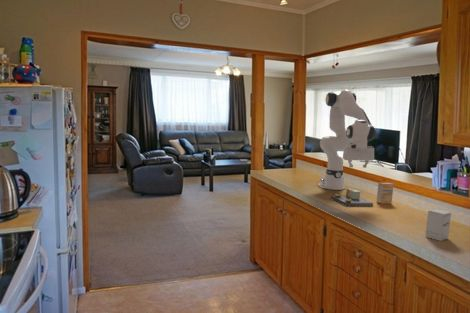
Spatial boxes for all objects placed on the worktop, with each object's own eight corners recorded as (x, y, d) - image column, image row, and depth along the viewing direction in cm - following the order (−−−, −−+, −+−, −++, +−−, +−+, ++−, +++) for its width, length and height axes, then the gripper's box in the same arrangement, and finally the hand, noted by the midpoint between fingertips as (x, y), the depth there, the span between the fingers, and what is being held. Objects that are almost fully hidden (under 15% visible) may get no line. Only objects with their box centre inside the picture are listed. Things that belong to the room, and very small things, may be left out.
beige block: (346, 196, 256) (346, 188, 255) (351, 196, 257) (352, 188, 256) (349, 197, 252) (349, 189, 251) (354, 197, 253) (355, 189, 252)
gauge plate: (331, 198, 255) (331, 192, 254) (356, 198, 259) (356, 192, 258) (345, 206, 235) (346, 199, 235) (372, 206, 239) (373, 199, 239)
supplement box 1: (380, 204, 246) (382, 183, 245) (376, 202, 251) (378, 182, 250) (392, 203, 249) (393, 183, 247) (387, 202, 253) (389, 182, 252)
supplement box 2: (440, 241, 175) (443, 214, 174) (424, 236, 181) (427, 210, 180) (448, 239, 179) (451, 212, 178) (432, 234, 185) (435, 208, 184)
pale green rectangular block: (350, 197, 250) (351, 190, 249) (356, 197, 251) (356, 190, 250) (353, 199, 246) (354, 191, 246) (359, 199, 247) (360, 191, 246)
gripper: (371, 145, 250) (369, 167, 252) (342, 144, 246) (340, 166, 247) (377, 146, 244) (375, 168, 245) (347, 145, 240) (345, 167, 241)
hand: (357, 167), depth 246 cm, fingers open, 8 cm apart
